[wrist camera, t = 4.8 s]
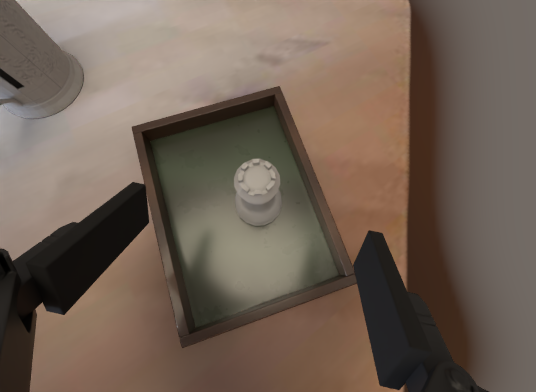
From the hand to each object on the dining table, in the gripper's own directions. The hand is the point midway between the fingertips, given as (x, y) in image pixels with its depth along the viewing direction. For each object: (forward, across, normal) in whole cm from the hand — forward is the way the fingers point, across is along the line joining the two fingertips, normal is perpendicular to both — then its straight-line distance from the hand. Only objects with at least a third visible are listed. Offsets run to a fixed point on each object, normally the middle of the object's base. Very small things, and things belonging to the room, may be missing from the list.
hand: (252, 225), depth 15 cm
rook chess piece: (+9, 0, -4) cm, 10 cm away
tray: (+8, -2, -4) cm, 10 cm away
